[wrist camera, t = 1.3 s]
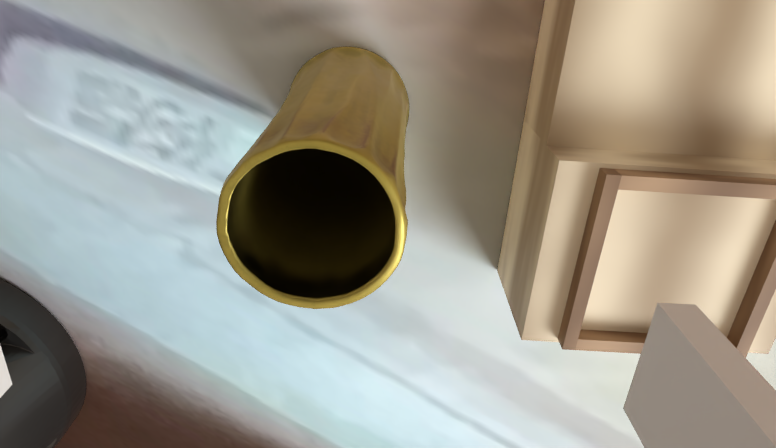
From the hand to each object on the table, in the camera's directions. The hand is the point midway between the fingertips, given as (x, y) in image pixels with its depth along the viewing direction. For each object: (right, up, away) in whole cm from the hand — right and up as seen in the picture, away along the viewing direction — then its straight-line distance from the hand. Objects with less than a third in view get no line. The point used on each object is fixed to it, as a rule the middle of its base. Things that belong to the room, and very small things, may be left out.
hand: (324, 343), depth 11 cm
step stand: (+14, +9, +16) cm, 23 cm away
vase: (-1, +8, +17) cm, 19 cm away
